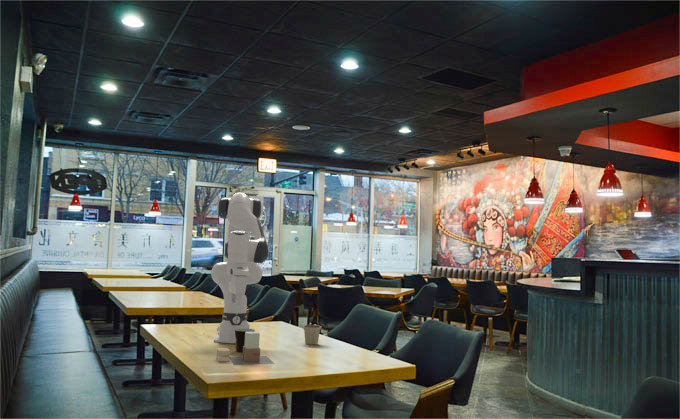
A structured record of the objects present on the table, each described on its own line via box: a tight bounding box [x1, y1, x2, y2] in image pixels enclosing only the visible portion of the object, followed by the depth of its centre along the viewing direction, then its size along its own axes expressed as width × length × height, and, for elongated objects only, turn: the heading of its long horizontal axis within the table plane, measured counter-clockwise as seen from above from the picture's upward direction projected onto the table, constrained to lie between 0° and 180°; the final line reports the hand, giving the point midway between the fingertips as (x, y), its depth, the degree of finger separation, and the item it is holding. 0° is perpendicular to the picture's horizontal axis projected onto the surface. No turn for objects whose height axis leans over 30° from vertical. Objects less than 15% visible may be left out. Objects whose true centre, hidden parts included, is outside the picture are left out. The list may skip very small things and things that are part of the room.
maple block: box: [216, 347, 231, 362], centre depth 212 cm, size 4×4×5 cm
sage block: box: [244, 331, 260, 349], centre depth 214 cm, size 5×5×6 cm
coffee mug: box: [235, 328, 256, 354], centre depth 234 cm, size 12×9×10 cm
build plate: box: [229, 355, 275, 366], centre depth 213 cm, size 16×16×1 cm
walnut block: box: [242, 346, 261, 362], centre depth 213 cm, size 6×6×5 cm
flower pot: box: [302, 324, 322, 346], centre depth 262 cm, size 9×9×9 cm
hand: (235, 304), depth 214 cm, fingers open, 8 cm apart
